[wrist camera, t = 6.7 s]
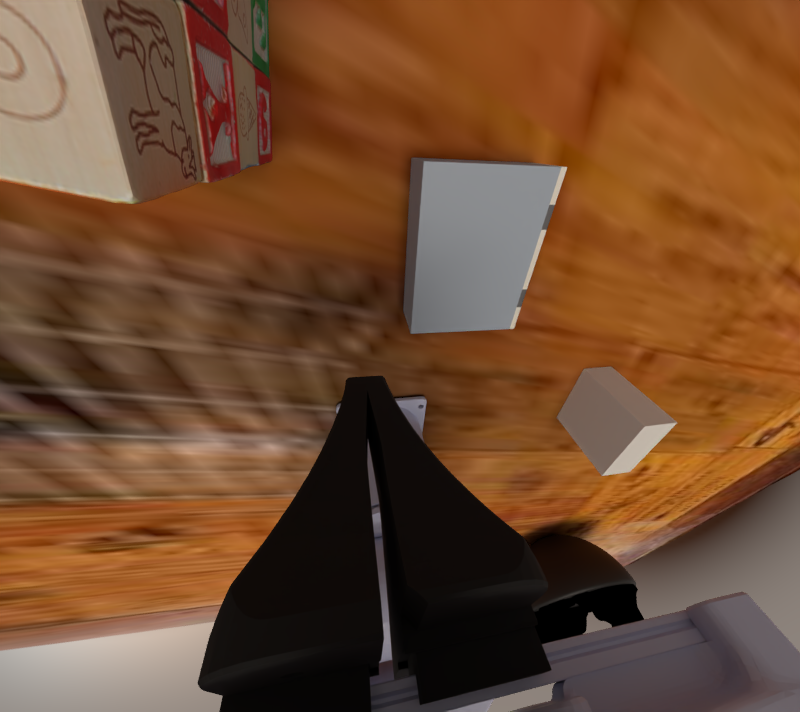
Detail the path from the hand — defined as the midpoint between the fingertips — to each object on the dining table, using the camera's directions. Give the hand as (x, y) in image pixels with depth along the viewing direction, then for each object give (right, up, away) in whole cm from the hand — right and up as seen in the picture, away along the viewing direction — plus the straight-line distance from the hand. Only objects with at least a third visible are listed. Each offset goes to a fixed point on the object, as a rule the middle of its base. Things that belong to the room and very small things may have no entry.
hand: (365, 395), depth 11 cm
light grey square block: (+20, -2, +19) cm, 28 cm away
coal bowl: (+30, -35, +46) cm, 65 cm away
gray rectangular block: (+9, +8, +6) cm, 14 cm away
